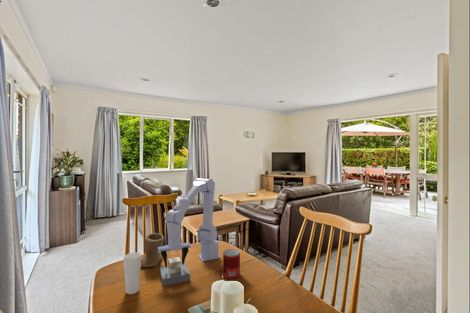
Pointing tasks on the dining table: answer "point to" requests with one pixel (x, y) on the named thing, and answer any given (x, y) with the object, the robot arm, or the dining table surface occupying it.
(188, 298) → the dining table surface
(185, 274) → the base
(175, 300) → the dining table surface
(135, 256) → the drinking glass
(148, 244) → the stone cup
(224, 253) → the canned food
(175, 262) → the cube
